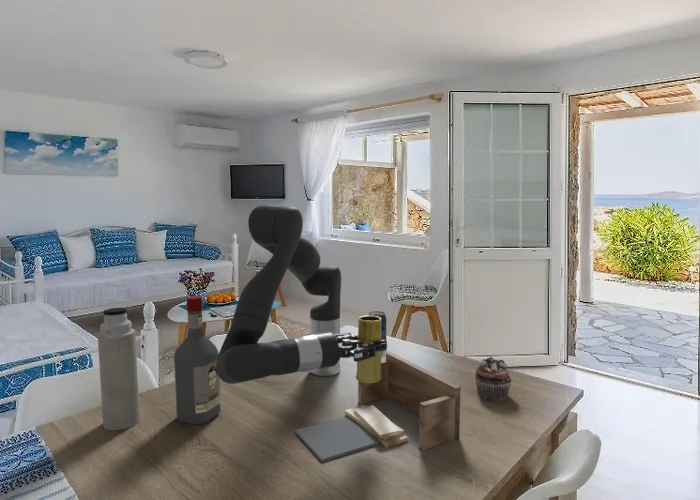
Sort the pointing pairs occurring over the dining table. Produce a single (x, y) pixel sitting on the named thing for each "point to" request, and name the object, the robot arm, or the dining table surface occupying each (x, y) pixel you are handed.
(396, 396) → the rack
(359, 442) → the mat
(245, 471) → the dining table surface
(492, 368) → the cupcake
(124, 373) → the thermos bottle
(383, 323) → the soda can
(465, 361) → the dining table surface
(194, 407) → the liquor
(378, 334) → the vase
